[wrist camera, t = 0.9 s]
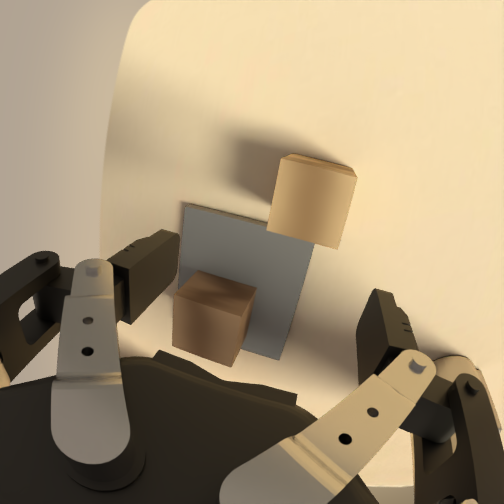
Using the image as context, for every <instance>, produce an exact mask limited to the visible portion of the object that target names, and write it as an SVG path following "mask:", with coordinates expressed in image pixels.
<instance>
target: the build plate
mask: <svg viewBox="0 0 504 504" xmlns="http://www.w3.org/2000/svg"><path fill="white" fill-rule="evenodd" d="M267 224H268V223H264V222H261V221H257V220H253V219H249V218H245V217H241V216H237V215H233V214H229V213H225V212H221V211H217V210H213V209H209V208H205V207H201V206H196V205H192V204H189V205H187V206H185V212H184V222H183V233H182V244H181V256H180V269H179V284H178V290H179V289H180V288H181V287H182V286H183V285H184V284H185V283H186V282H187V281H188V280H189V279H190V278H191V277H192V276H193V275H194V274H195V272H196V271H197V270H200V271H203V272H206V273H209V274H213V275H216V276H219V277H223V278H226V279H229V280H233V281H236V282H239V283H243V284H246V285H249V286H253V287H256V288H257V290H256V295H255V299H254V304H253V308H252V313H251V318H250V322H249V327H248V331H247V336H246V338H245V340H244V342H243V344H242V346H241V348H240V349H243V350H246V351H249V352H252V353H256V354H259V355H262V356H265V357H269V358H272V359H276V360H279V359H280V356H281V353H282V350H283V347H284V344H285V341H286V338H287V335H288V332H289V329H290V325H291V322H292V319H293V316H294V313H295V309H296V306H297V303H298V300H299V296H300V293H301V290H302V286H303V283H304V279H305V276H306V273H307V269H308V266H309V262H310V259H311V255H312V251H313V248H314V244H315V243H311V242H308V241H304V240H300V239H297V238H293V237H289V236H286V235H282V234H278V233H274V232H271V231H267V230H266V229H267Z"/></svg>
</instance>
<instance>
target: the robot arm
mask: <svg viewBox="0 0 504 504" xmlns="http://www.w3.org/2000/svg"><path fill="white" fill-rule="evenodd" d="M179 243H180V236H179V234H177V233H174V232H170V231H167V230H163V229H161V230H159V231H158V232H156V233H155V234H153V235H152V236H150V237H146V238H142V239H139V240H136V241H135V242H133V243H132V244H130V245H129V246H127V247H126V248H124V249H123V250H121V251H119V252H118V253H116V254H115V255H114V256H112V257H111V258H109V259H108V260H103V259H88V260H84V261H82V262H80V263H78V264H77V266H76V267H75V269H74V268H68V267H62V266H60V260H59V256H58V254H56V253H55V252H51V251H40V252H37V253H34V254H32V255H30V256H28V257H27V258H25V259H24V260H22V261H20V262H19V263H17V264H16V265H14V266H13V267H11V268H9V269H8V270H6V271H5V272H3V273H2V274H1V275H0V504H379V503H378V501H377V500H376V499H375V497H374V496H373V495H372V493H371V492H370V490H369V489H368V488H367V486H366V485H365V483H364V482H363V480H362V479H361V478H360V476H359V475H358V473H359V472H360V471H361V470H362V469H363V467H364V466H365V465H366V464H367V463H368V462H369V461H370V460H371V459H372V458H373V457H374V456H375V455H376V453H377V452H378V451H379V450H380V449H381V448H382V447H383V445H384V444H385V443H386V442H387V441H388V440H389V438H390V437H391V436H392V435H393V434H394V432H395V431H396V430H397V429H398V428H400V429H403V430H405V431H407V432H410V434H411V446H412V460H413V479H414V504H504V450H503V446H502V442H501V438H500V434H499V433H500V432H501V424H500V421H499V418H498V415H497V412H496V409H495V406H494V403H493V401H492V398H491V395H490V392H489V390H488V387H487V385H486V382H485V379H484V377H483V375H482V372H481V371H479V370H476V369H475V367H474V364H473V363H472V362H471V361H470V360H469V359H467V358H465V357H461V356H449V357H444V358H441V359H438V360H435V361H432V360H431V359H430V358H429V357H428V356H426V355H425V354H423V353H422V352H419V350H418V347H417V344H416V340H415V337H414V334H413V333H412V332H413V331H412V328H411V326H410V322H409V319H408V316H407V315H406V314H405V312H404V311H403V310H402V309H401V308H399V307H397V306H396V303H395V300H394V296H393V294H392V293H390V292H387V291H383V290H379V289H376V288H375V289H374V290H373V291H372V293H371V295H370V297H369V299H368V302H367V304H366V306H365V309H364V311H363V313H362V315H361V318H360V320H359V322H358V326H357V330H356V344H357V359H358V380H359V387H358V388H357V389H355V390H354V391H353V392H352V393H351V394H350V395H348V396H347V397H346V398H345V399H343V400H342V401H341V402H340V403H339V404H337V405H336V406H335V407H334V408H332V409H331V410H330V411H328V412H327V413H326V414H325V415H323V416H322V417H321V418H319V419H317V418H316V417H315V416H313V415H312V414H311V413H309V412H308V411H306V410H305V409H303V408H301V407H299V406H297V405H296V400H297V394H295V393H291V392H287V391H283V390H280V389H276V388H272V387H268V386H265V385H259V384H249V383H239V382H231V381H224V380H221V379H219V378H218V377H216V376H214V375H212V374H211V373H209V372H207V371H206V370H204V369H202V368H201V367H199V366H197V365H196V364H194V363H192V362H190V361H188V360H185V359H182V358H180V357H177V356H174V355H172V354H169V353H167V352H164V351H162V350H158V352H157V353H156V354H155V356H154V357H153V358H149V357H124V358H120V351H119V343H118V333H117V323H118V322H119V321H120V320H121V321H123V322H125V323H128V324H130V325H131V324H132V323H133V322H134V321H135V320H136V319H137V318H138V317H139V316H140V315H141V314H142V313H143V312H144V311H145V310H146V308H147V307H148V306H149V305H150V304H151V303H152V302H153V301H154V300H155V299H156V298H157V297H158V296H159V295H160V294H161V293H162V292H163V291H164V290H165V289H166V288H167V287H168V286H169V285H170V284H171V282H172V281H173V280H174V278H175V275H176V272H177V266H178V254H179ZM31 296H33V300H34V304H35V309H34V310H32V311H31V312H30V313H29V314H28V315H27V316H25V317H24V318H23V319H22V320H21V321H19V317H18V312H19V308H20V306H21V305H22V304H23V303H24V302H25V301H27V300H28V299H29V298H30V297H31ZM59 332H60V337H59V348H58V360H57V374H56V375H55V376H51V377H46V378H42V379H38V380H34V381H29V382H25V383H21V384H16V385H11V386H10V382H12V380H13V379H14V378H15V377H16V376H17V375H18V374H19V373H20V372H21V371H22V370H23V369H24V368H25V366H26V365H27V364H28V363H29V362H30V361H31V360H32V359H33V358H34V357H35V356H36V355H37V354H38V353H39V352H40V351H41V350H42V349H43V348H44V347H45V346H46V345H47V343H49V342H50V341H51V340H52V339H53V337H55V336H56V335H57V334H58V333H59Z"/></svg>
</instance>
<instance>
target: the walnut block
mask: <svg viewBox="0 0 504 504" xmlns="http://www.w3.org/2000/svg"><path fill="white" fill-rule="evenodd" d="M256 290H257V288H256V287H253V286H249V285H246V284H243V283H239V282H236V281H233V280H229V279H226V278H223V277H219V276H216V275H213V274H209V273H206V272H203V271H200V270H197V271H196V272H195V274H194V275H193V276H192V277H191V278H190V279H189V280H188V281H187V282H186V283H185V284H184V285H183V286H182V287H181V288H180V289H179V290H178V291H177V292H176V293H175V294H174V305H173V333H172V346H174V347H176V348H179V349H181V350H184V351H187V352H189V353H192V354H195V355H197V356H200V357H203V358H205V359H208V360H211V361H214V362H217V363H220V364H222V365H225V366H228V367H232V365H233V363H234V361H235V359H236V357H237V355H238V353H239V351H240V348H241V346H242V344H243V342H244V340H245V338H246V336H247V331H248V327H249V322H250V318H251V313H252V308H253V304H254V299H255V295H256Z"/></svg>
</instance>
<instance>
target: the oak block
mask: <svg viewBox="0 0 504 504" xmlns="http://www.w3.org/2000/svg"><path fill="white" fill-rule="evenodd" d="M356 182H357V176H356V174H355V172H354V171H353V169H352V168H349V167H346V166H342V165H338V164H335V163H331V162H327V161H323V160H319V159H315V158H311V157H307V156H303V155H298V154H294V153H293V154H290V155H288V156H285V157H283V158H281V160H280V165H279V170H278V175H277V180H276V185H275V190H274V195H273V200H272V205H271V210H270V214H269V219H268V224H267V229H266V230H267V231H271V232H274V233H278V234H282V235H286V236H289V237H293V238H297V239H300V240H304V241H308V242H311V243H315V244H319V245H322V246H326V247H330V248H333V249H338V246H339V243H340V239H341V236H342V233H343V229H344V226H345V222H346V219H347V215H348V211H349V208H350V204H351V201H352V197H353V193H354V189H355V185H356Z"/></svg>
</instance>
